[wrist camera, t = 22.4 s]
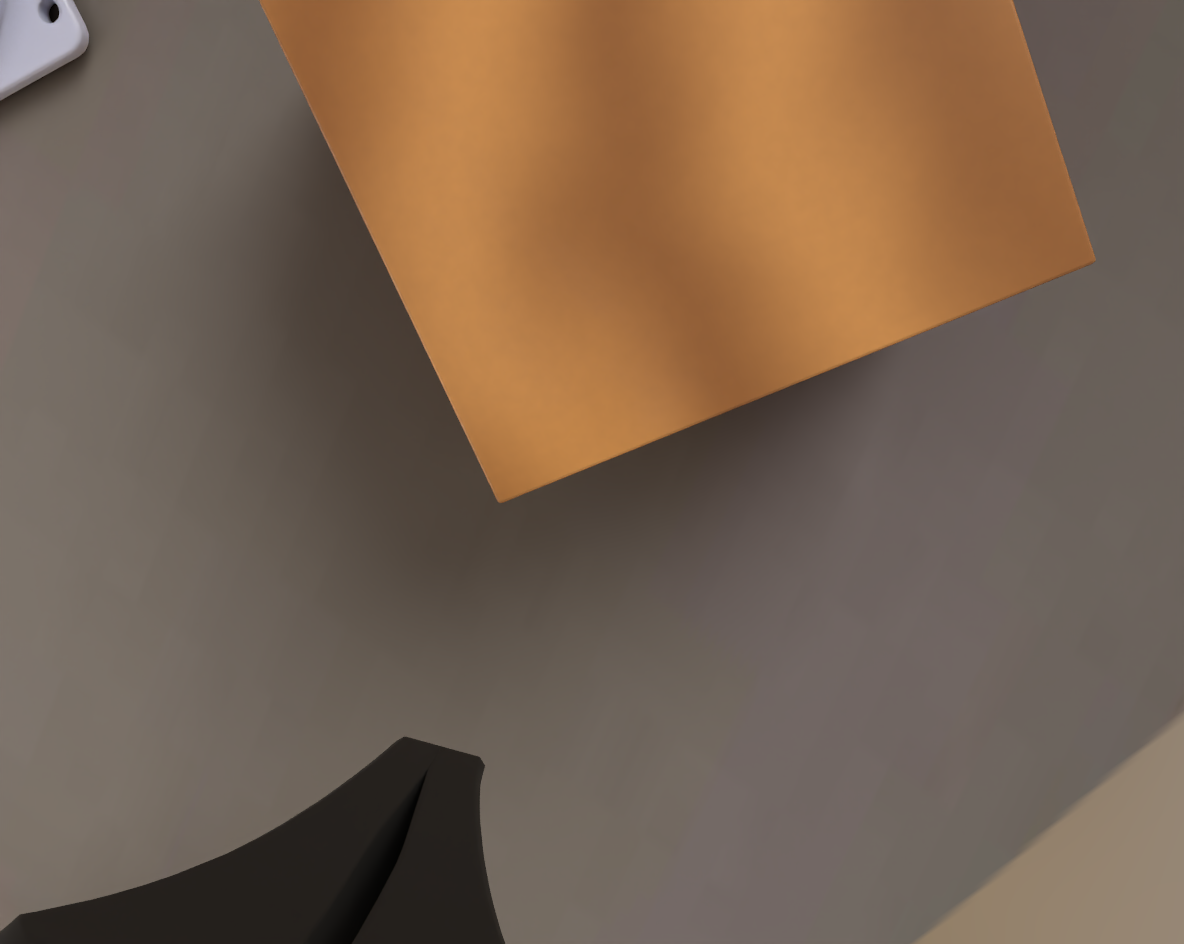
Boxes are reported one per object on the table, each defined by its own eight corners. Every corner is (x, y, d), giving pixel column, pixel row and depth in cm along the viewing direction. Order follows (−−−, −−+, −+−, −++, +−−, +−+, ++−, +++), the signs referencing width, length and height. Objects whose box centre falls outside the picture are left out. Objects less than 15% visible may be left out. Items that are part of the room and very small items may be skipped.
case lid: (861, -419, 13) (869, -454, 13) (1080, 260, 15) (1098, 261, 15) (245, -56, 16) (224, -69, 15) (506, 494, 18) (498, 505, 17)
